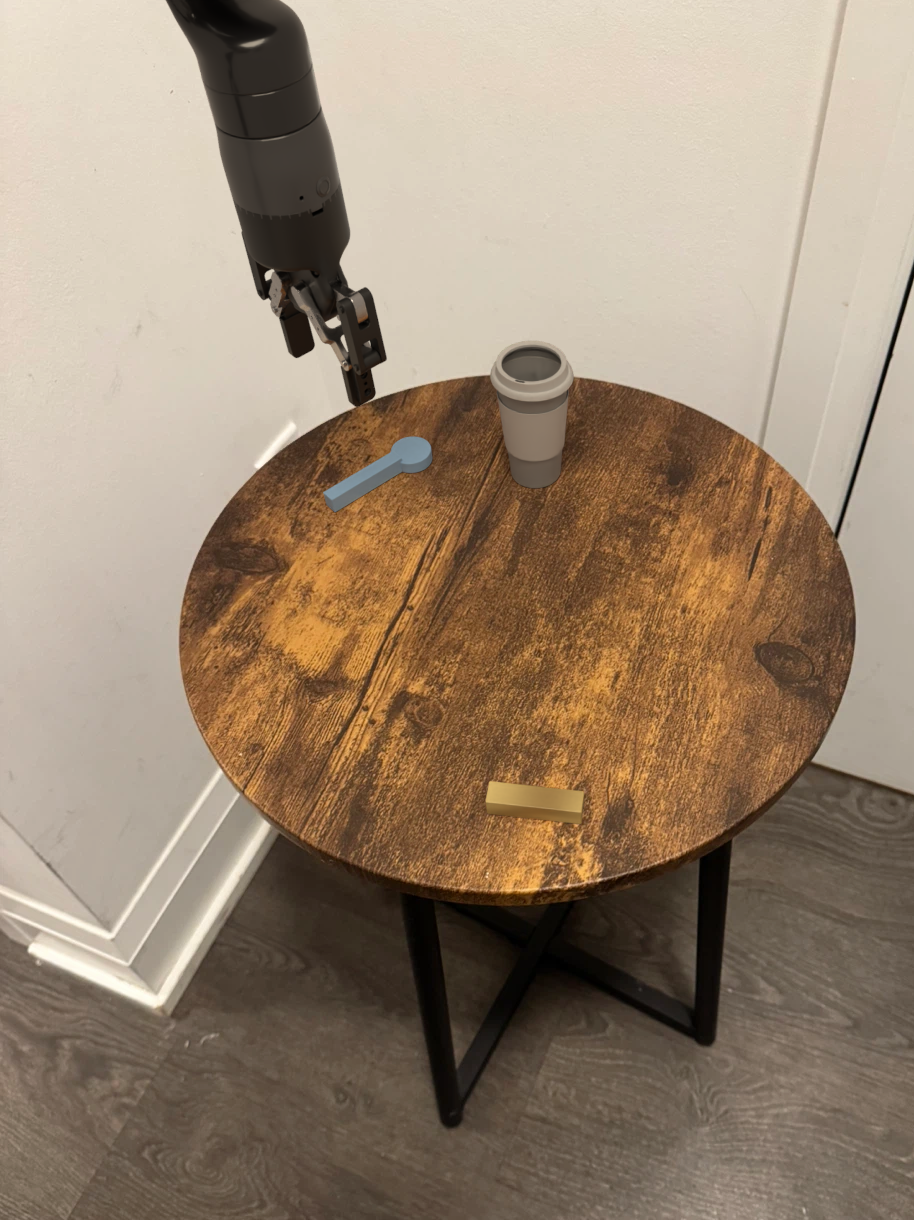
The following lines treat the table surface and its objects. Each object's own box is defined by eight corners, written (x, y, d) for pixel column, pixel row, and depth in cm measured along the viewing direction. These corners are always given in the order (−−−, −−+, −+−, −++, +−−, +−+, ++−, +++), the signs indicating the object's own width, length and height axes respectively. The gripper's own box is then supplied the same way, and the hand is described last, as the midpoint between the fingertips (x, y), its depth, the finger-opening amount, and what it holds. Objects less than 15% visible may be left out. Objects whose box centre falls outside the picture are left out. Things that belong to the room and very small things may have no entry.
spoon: (342, 519, 94) (339, 506, 92) (318, 498, 95) (314, 485, 94) (440, 460, 98) (438, 446, 96) (416, 440, 99) (413, 427, 98)
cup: (487, 486, 96) (476, 377, 86) (513, 440, 99) (506, 330, 89) (559, 503, 94) (557, 395, 84) (583, 456, 97) (584, 346, 88)
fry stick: (486, 814, 76) (485, 801, 75) (490, 793, 77) (489, 780, 76) (581, 824, 75) (581, 812, 74) (584, 803, 76) (584, 791, 75)
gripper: (184, 163, 73) (246, 357, 87) (297, 245, 67) (346, 440, 80) (272, 123, 76) (320, 318, 89) (390, 199, 70) (422, 396, 83)
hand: (332, 376), depth 85 cm, fingers open, 8 cm apart
